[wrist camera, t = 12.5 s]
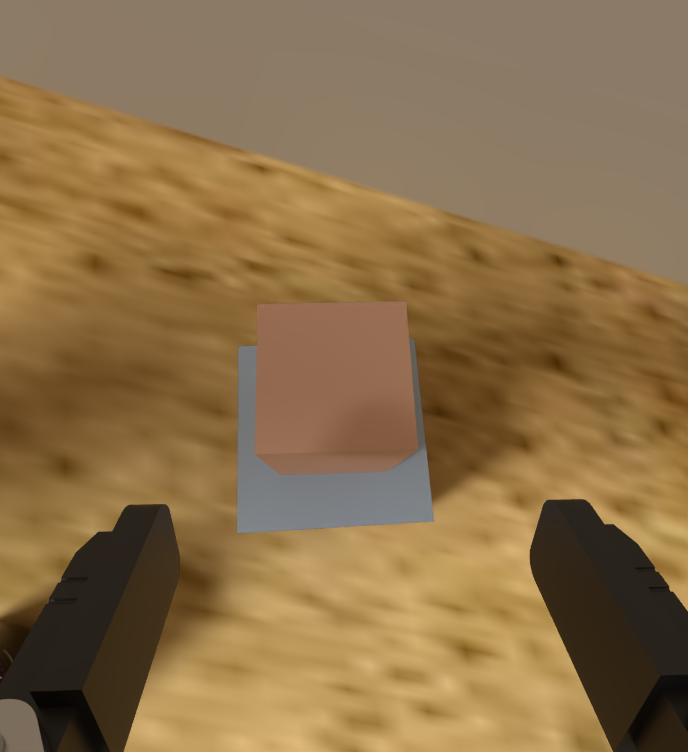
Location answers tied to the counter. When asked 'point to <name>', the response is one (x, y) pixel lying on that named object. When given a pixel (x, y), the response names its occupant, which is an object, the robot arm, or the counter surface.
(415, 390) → the tower top block
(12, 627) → the supplement bottle
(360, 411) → the tall block
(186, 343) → the counter surface
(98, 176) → the counter surface
